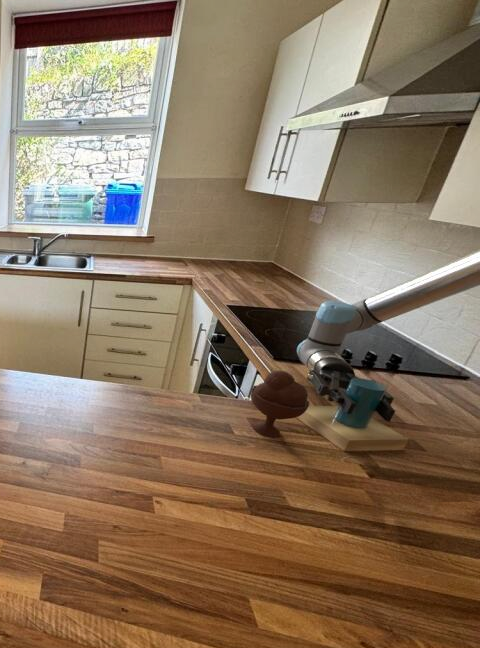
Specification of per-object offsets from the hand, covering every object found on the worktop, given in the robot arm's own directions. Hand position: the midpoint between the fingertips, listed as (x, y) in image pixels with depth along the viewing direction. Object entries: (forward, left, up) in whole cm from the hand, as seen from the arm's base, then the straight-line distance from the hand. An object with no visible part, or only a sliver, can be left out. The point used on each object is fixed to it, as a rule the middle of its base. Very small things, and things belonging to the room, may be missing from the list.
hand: (370, 412), depth 88 cm
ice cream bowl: (+6, +17, -9) cm, 20 cm away
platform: (+5, -2, -9) cm, 10 cm away
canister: (+5, -2, -6) cm, 8 cm away
